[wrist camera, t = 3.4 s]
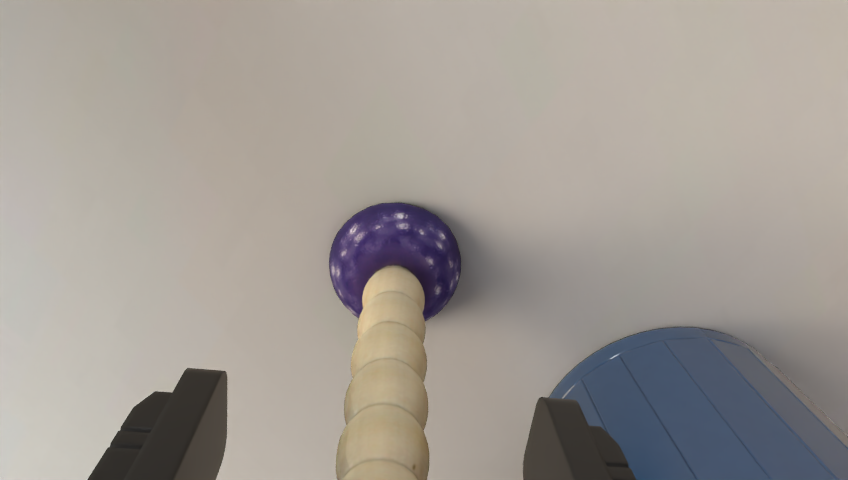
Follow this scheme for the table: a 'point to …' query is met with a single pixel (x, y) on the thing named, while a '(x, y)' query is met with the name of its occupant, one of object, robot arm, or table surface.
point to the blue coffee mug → (704, 410)
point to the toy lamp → (390, 334)
